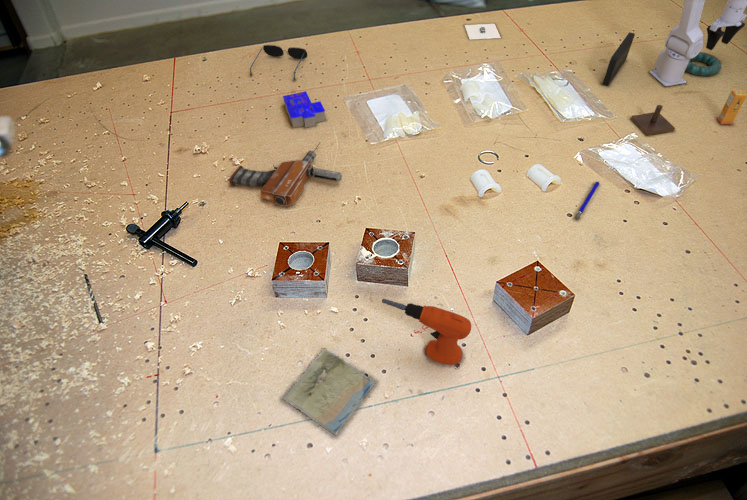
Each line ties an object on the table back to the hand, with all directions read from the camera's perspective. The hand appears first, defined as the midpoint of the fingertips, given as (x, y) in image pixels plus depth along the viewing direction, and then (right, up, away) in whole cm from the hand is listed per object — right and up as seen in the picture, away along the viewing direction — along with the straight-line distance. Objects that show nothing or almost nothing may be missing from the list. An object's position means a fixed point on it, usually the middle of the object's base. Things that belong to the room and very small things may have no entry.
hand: (716, 45), depth 178 cm
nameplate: (-34, -8, +3) cm, 35 cm away
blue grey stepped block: (-140, -26, -8) cm, 142 cm away
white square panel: (-75, +16, +26) cm, 81 cm away
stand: (-32, -31, -18) cm, 48 cm away
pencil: (-60, -57, -39) cm, 91 cm away
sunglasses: (-151, -3, +12) cm, 152 cm away
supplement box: (-9, -30, -17) cm, 36 cm away
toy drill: (-107, -91, -67) cm, 155 cm away
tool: (-140, -48, -28) cm, 151 cm away
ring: (-4, -5, +2) cm, 7 cm away
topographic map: (-126, -98, -73) cm, 176 cm away
